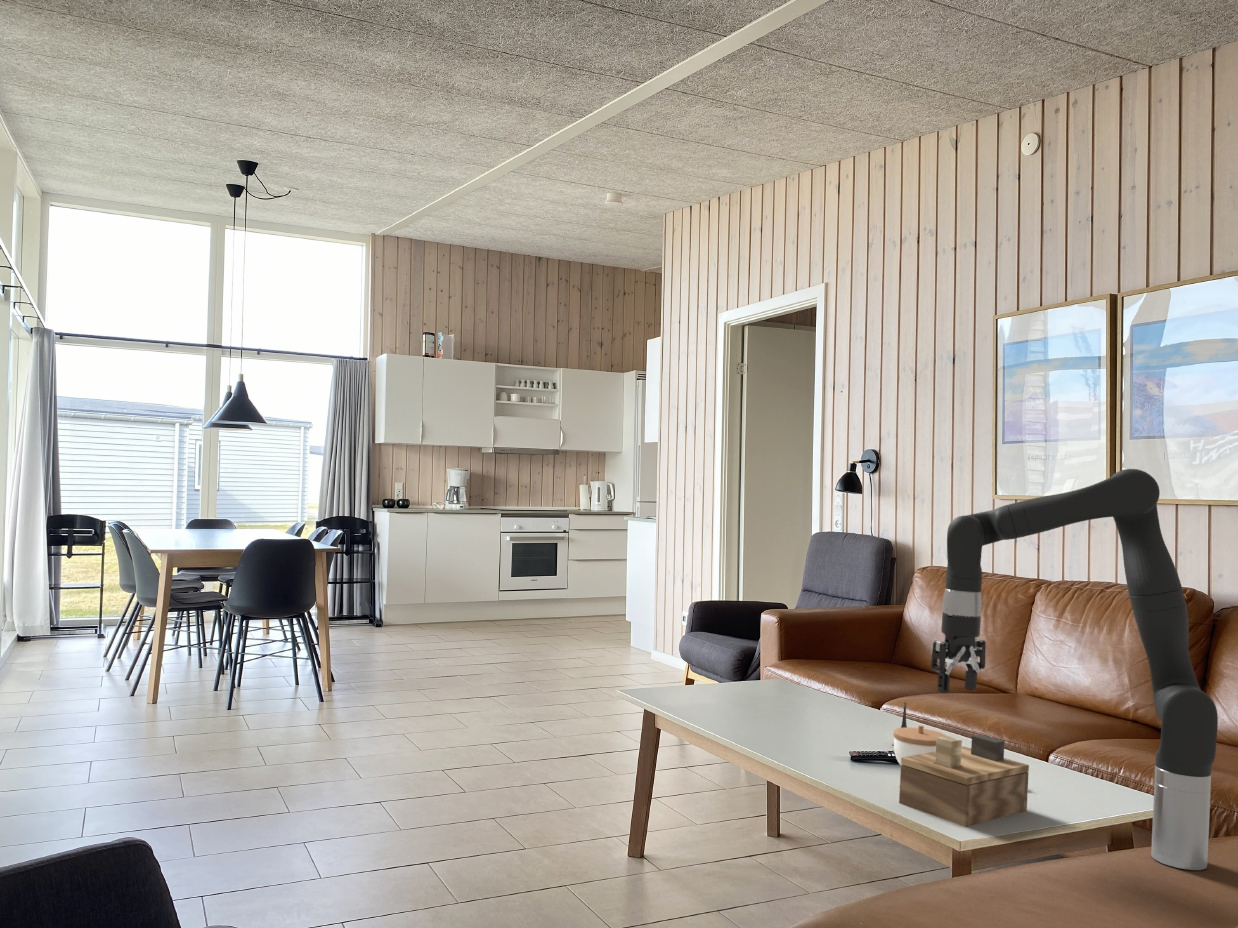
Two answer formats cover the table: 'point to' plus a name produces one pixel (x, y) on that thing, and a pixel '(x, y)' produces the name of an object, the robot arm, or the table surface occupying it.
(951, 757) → the key peg
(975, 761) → the wooden box lid
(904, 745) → the lidded bowl
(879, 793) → the table surface
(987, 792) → the wooden rectangular box
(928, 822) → the table surface
